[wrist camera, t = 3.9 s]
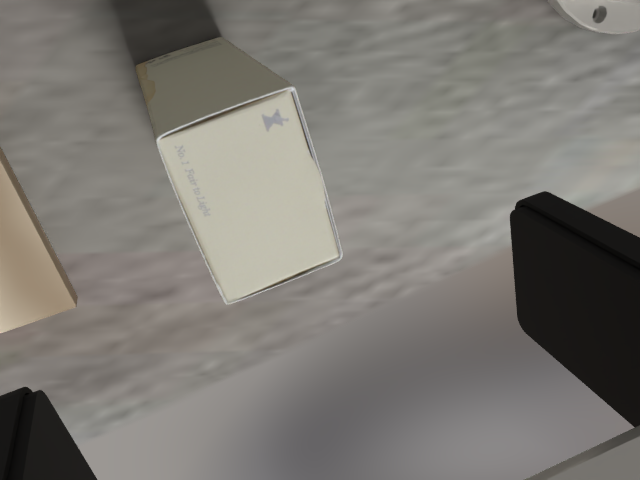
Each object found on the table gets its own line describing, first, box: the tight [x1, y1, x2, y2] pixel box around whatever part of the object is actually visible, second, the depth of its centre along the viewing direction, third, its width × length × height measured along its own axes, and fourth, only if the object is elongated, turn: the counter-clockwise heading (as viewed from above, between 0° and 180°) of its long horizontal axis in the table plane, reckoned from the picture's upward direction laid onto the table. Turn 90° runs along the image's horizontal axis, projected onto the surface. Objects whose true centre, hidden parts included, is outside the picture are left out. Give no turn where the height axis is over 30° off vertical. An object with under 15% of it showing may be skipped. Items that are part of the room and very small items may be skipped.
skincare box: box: [136, 37, 343, 304], centre depth 23 cm, size 6×4×12 cm
